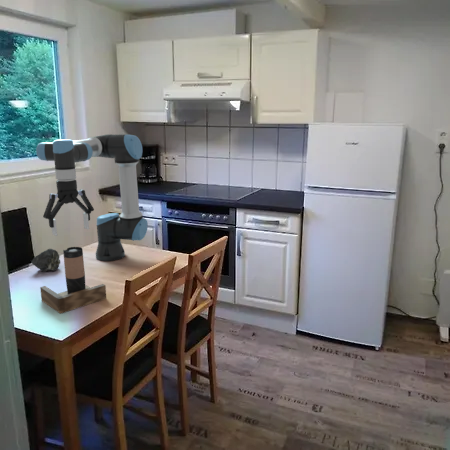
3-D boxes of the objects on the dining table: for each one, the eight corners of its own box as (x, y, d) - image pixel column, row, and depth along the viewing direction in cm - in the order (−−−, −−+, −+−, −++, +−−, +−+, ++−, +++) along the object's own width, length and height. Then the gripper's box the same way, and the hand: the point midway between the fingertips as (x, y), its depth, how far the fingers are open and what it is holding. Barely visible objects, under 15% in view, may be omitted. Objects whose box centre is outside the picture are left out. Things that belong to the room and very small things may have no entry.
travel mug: (87, 296, 182) (83, 250, 177) (68, 299, 179) (64, 253, 174) (85, 290, 189) (81, 245, 184) (66, 293, 186) (62, 248, 181)
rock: (54, 258, 224) (50, 244, 217) (67, 267, 220) (63, 253, 213) (34, 273, 216) (29, 259, 209) (47, 282, 212) (43, 267, 205)
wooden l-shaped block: (86, 287, 194) (85, 274, 193) (106, 298, 183) (105, 285, 181) (41, 300, 181) (40, 287, 179) (60, 313, 169) (58, 299, 167)
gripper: (90, 175, 183) (94, 224, 188) (30, 182, 166) (36, 236, 171) (99, 177, 178) (103, 227, 183) (38, 184, 160) (44, 239, 166)
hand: (71, 231), depth 177 cm, fingers open, 13 cm apart
